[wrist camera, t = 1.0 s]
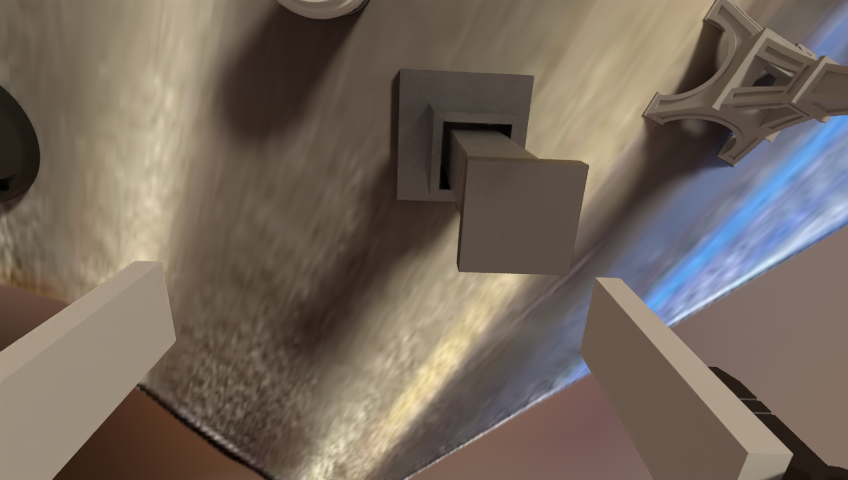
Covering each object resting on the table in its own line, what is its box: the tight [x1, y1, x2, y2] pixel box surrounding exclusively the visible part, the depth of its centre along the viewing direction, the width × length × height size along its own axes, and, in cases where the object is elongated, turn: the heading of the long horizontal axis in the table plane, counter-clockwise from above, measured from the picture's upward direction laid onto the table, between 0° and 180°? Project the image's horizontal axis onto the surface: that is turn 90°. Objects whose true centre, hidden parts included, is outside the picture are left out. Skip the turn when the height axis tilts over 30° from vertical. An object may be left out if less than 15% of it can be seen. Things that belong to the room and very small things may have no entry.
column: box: [441, 121, 589, 275], centre depth 35 cm, size 6×6×27 cm
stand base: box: [397, 69, 534, 212], centre depth 44 cm, size 14×14×12 cm
